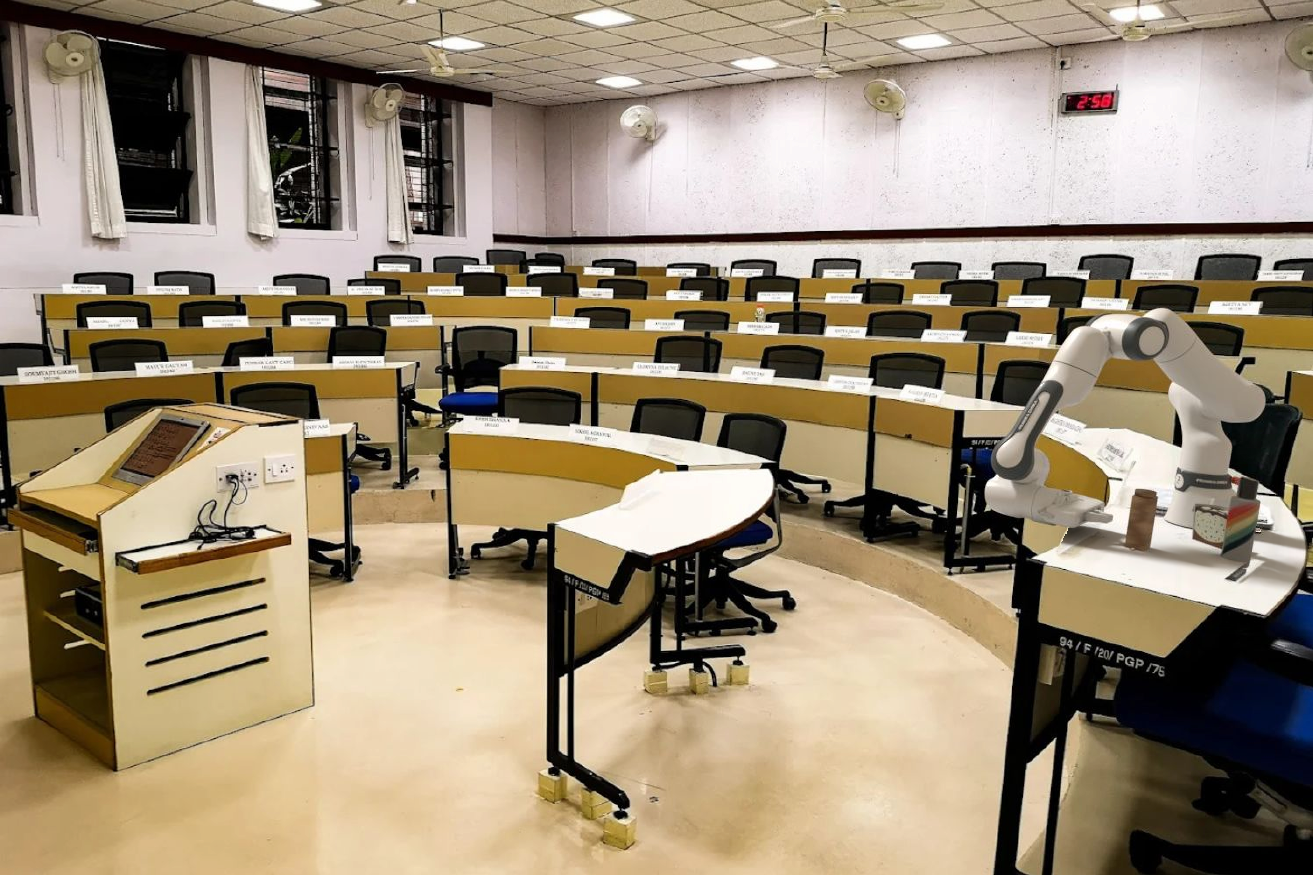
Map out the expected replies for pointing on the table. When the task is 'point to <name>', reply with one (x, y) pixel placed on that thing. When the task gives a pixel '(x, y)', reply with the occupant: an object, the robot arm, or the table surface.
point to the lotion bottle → (1241, 522)
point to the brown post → (1141, 519)
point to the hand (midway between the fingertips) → (1110, 519)
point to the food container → (1209, 524)
